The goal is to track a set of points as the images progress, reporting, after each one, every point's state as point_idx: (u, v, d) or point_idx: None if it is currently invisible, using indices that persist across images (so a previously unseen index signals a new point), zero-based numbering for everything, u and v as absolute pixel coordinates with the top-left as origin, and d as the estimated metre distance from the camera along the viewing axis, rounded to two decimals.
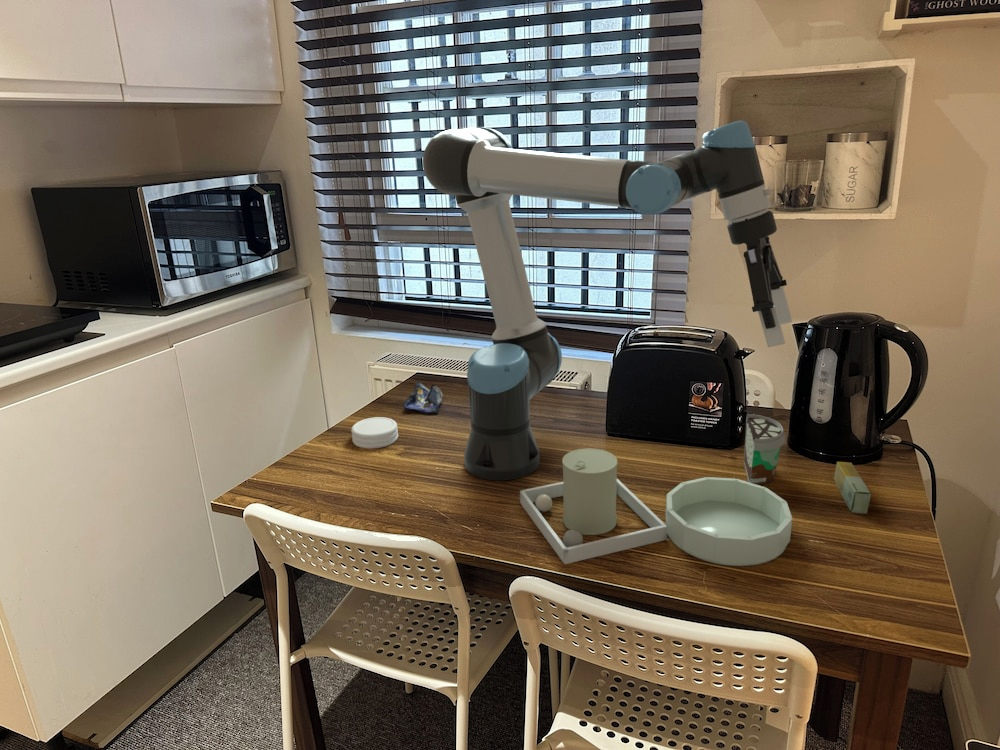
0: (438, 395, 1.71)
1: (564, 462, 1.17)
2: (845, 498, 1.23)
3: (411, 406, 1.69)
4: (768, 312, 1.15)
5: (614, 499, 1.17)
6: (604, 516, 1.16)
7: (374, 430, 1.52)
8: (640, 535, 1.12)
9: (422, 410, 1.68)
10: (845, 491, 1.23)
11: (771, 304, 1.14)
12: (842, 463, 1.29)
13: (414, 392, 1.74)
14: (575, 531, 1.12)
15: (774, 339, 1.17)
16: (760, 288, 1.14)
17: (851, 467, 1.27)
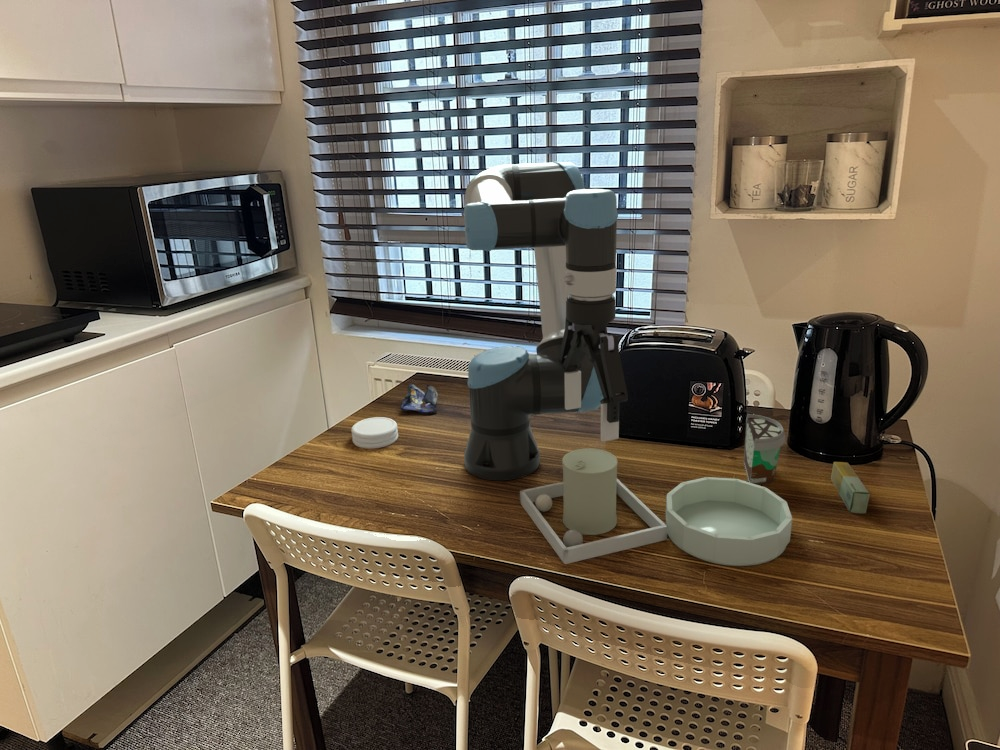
0: (434, 395, 1.71)
1: (564, 462, 1.17)
2: (843, 498, 1.23)
3: (408, 407, 1.69)
4: None
5: (614, 499, 1.17)
6: (604, 516, 1.16)
7: (374, 430, 1.52)
8: (640, 535, 1.12)
9: (420, 410, 1.68)
10: (843, 491, 1.23)
11: (562, 366, 1.19)
12: (839, 463, 1.29)
13: (408, 393, 1.73)
14: (575, 531, 1.12)
15: None
16: None
17: (848, 467, 1.27)
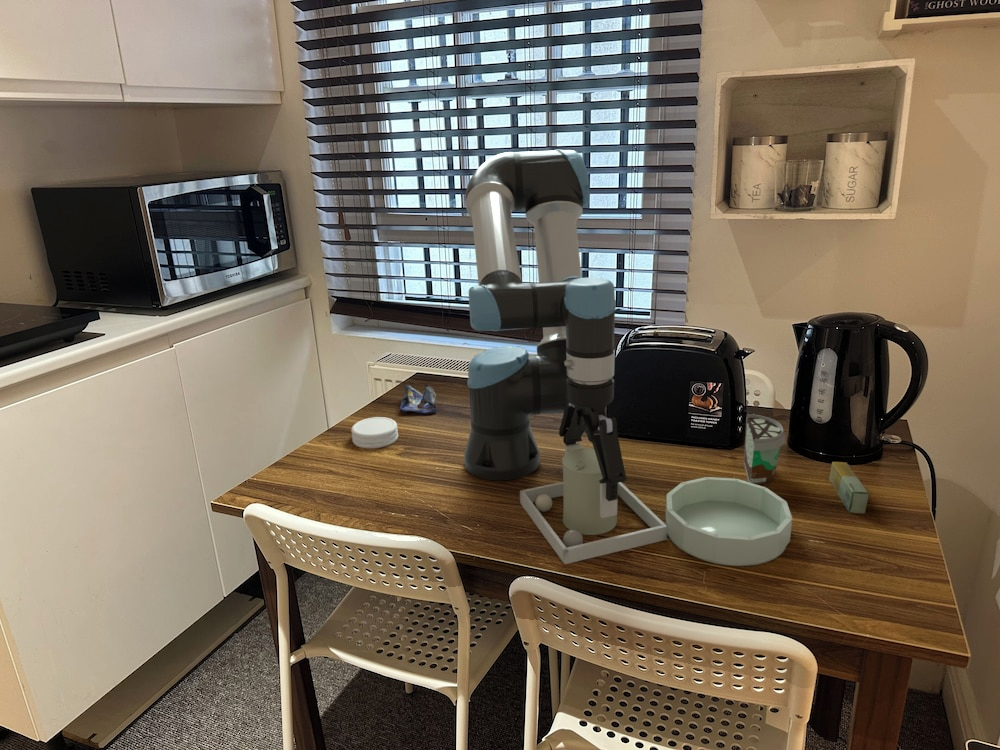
0: (432, 395, 1.71)
1: (564, 462, 1.17)
2: (842, 498, 1.23)
3: (407, 408, 1.68)
4: None
5: None
6: None
7: (374, 430, 1.52)
8: (640, 535, 1.12)
9: (419, 411, 1.68)
10: (842, 491, 1.23)
11: (563, 438, 1.24)
12: (837, 463, 1.29)
13: (405, 394, 1.73)
14: (575, 531, 1.12)
15: None
16: None
17: (846, 467, 1.27)
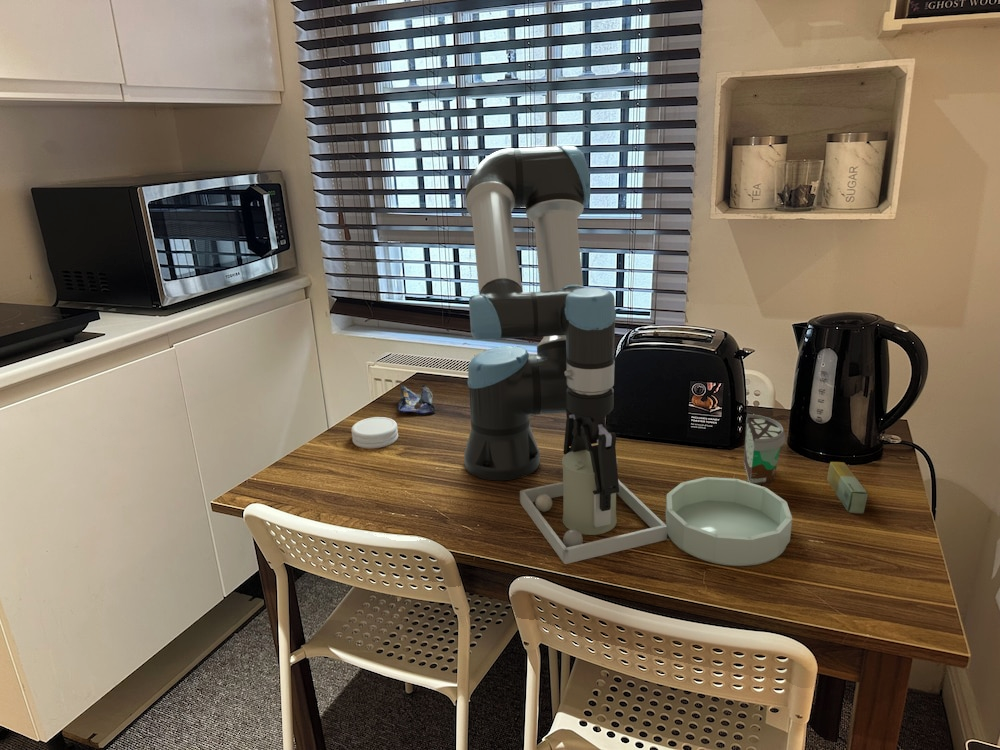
0: (429, 395, 1.71)
1: (564, 462, 1.17)
2: (841, 498, 1.23)
3: (405, 409, 1.68)
4: None
5: (614, 499, 1.17)
6: None
7: (374, 430, 1.52)
8: (640, 535, 1.12)
9: (418, 411, 1.68)
10: (841, 491, 1.23)
11: None
12: (835, 463, 1.29)
13: (402, 395, 1.72)
14: (575, 531, 1.12)
15: None
16: None
17: (845, 467, 1.27)
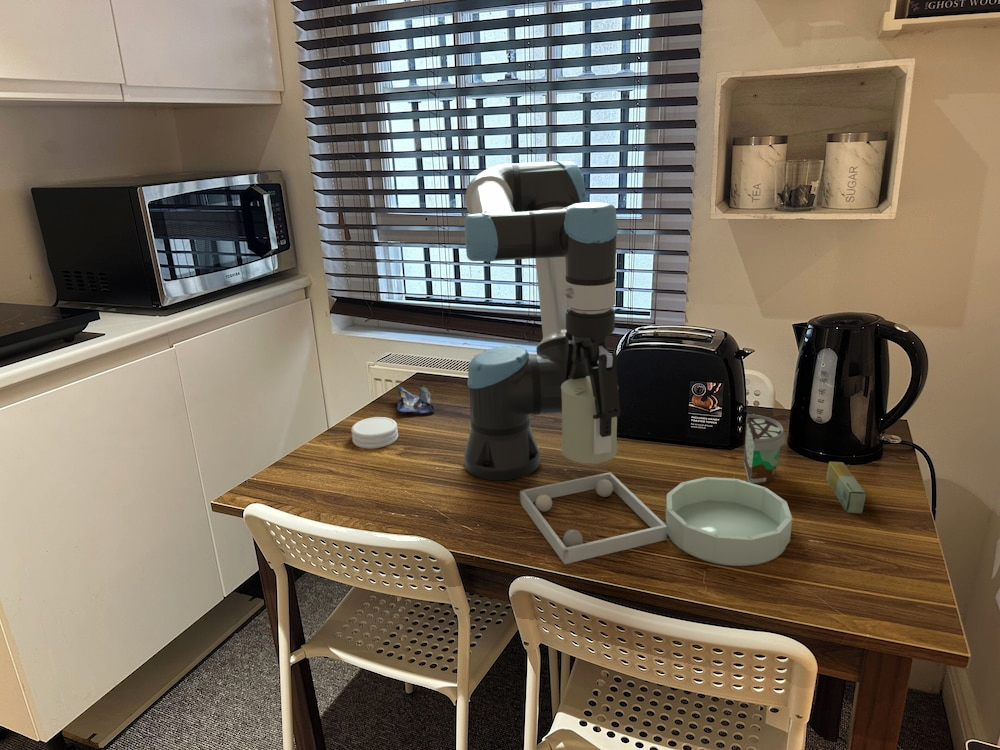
0: (427, 395, 1.71)
1: (563, 388, 1.12)
2: (839, 498, 1.23)
3: (404, 409, 1.67)
4: None
5: (615, 427, 1.13)
6: None
7: (374, 430, 1.52)
8: (640, 535, 1.12)
9: (417, 412, 1.67)
10: (839, 491, 1.23)
11: None
12: (834, 463, 1.29)
13: (399, 396, 1.72)
14: (575, 531, 1.12)
15: None
16: None
17: (843, 467, 1.27)
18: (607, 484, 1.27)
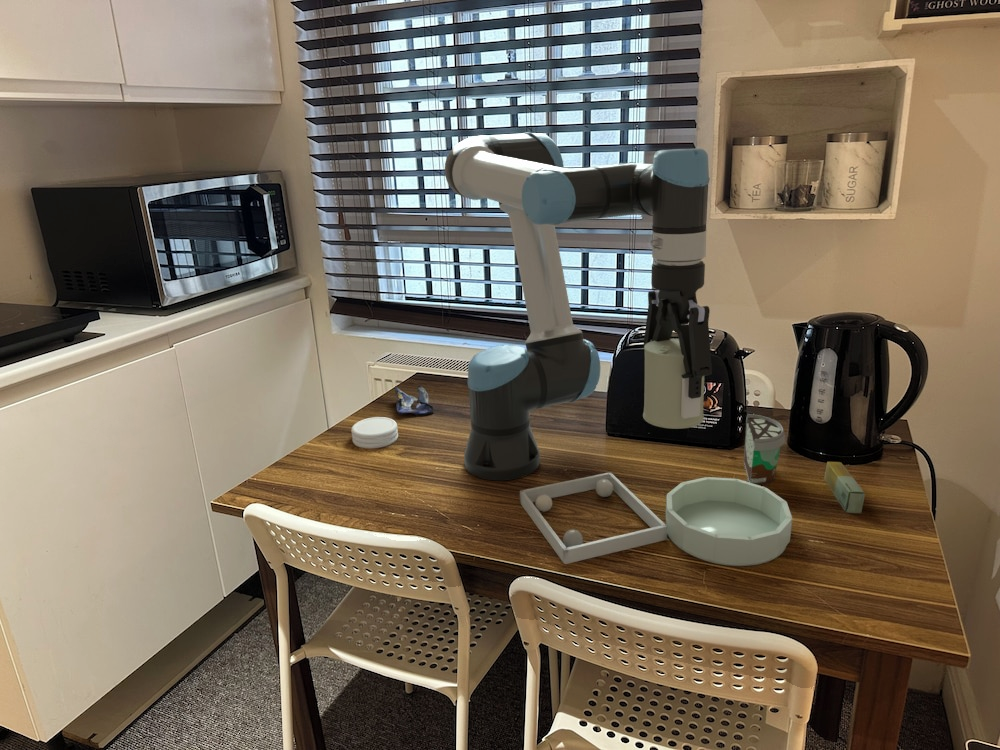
0: (425, 396, 1.71)
1: (647, 348, 1.06)
2: (838, 498, 1.23)
3: (403, 410, 1.67)
4: None
5: (702, 389, 1.06)
6: None
7: (374, 430, 1.52)
8: (640, 535, 1.12)
9: (416, 412, 1.67)
10: (838, 491, 1.23)
11: None
12: (832, 463, 1.29)
13: (397, 397, 1.71)
14: (575, 531, 1.12)
15: None
16: None
17: (841, 467, 1.27)
18: (607, 484, 1.27)
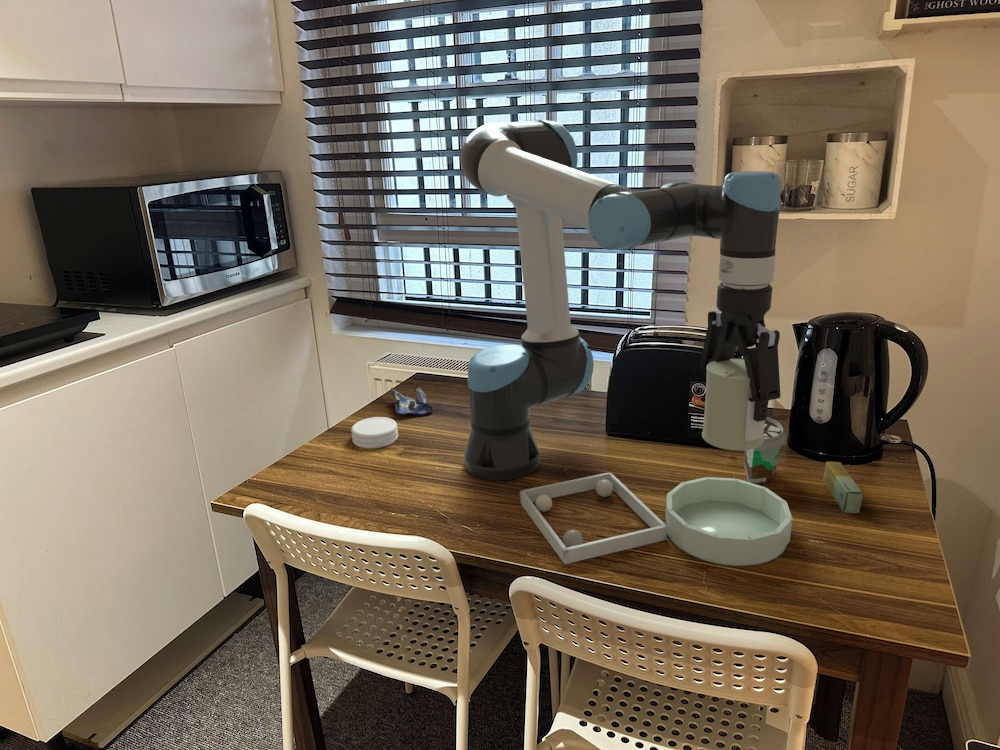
0: (422, 396, 1.71)
1: (710, 370, 1.06)
2: (836, 498, 1.23)
3: (402, 411, 1.66)
4: None
5: None
6: None
7: (374, 430, 1.52)
8: (640, 535, 1.12)
9: (415, 413, 1.67)
10: (837, 491, 1.23)
11: (706, 371, 1.12)
12: (831, 463, 1.29)
13: (394, 398, 1.70)
14: (575, 531, 1.12)
15: None
16: None
17: (841, 467, 1.27)
18: (607, 484, 1.27)
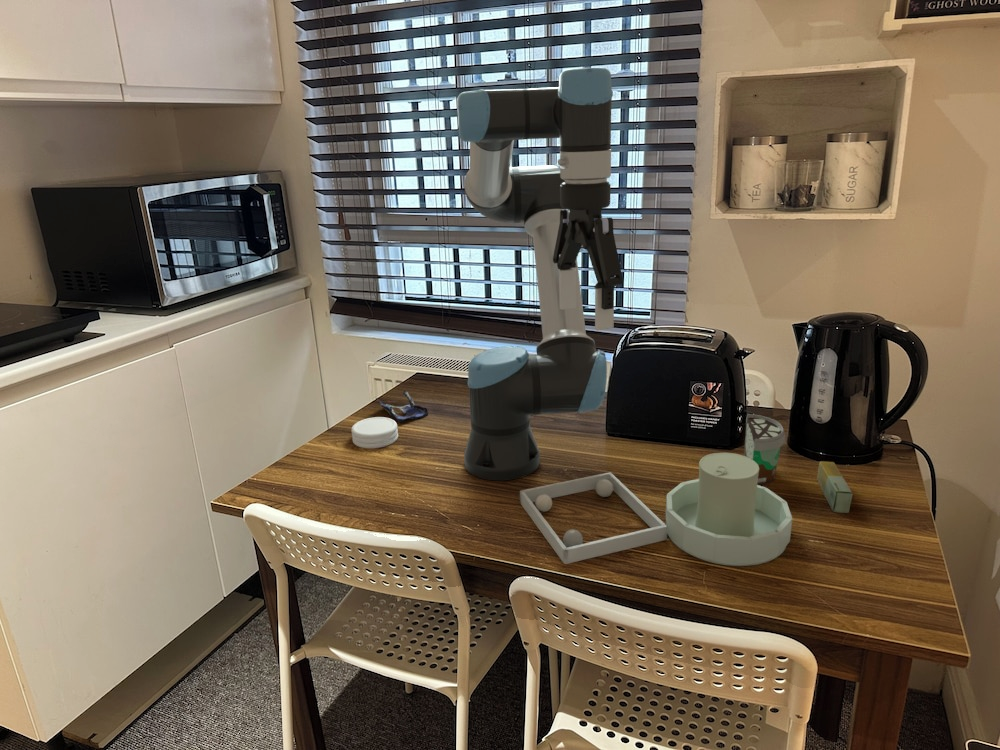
0: (410, 400, 1.69)
1: (702, 467, 1.12)
2: (827, 497, 1.24)
3: (400, 417, 1.63)
4: None
5: (754, 506, 1.12)
6: (745, 523, 1.11)
7: (374, 430, 1.52)
8: (640, 535, 1.12)
9: (413, 416, 1.65)
10: (828, 491, 1.24)
11: None
12: (825, 463, 1.29)
13: (384, 406, 1.66)
14: (575, 531, 1.12)
15: None
16: None
17: (833, 467, 1.28)
18: (607, 484, 1.27)
